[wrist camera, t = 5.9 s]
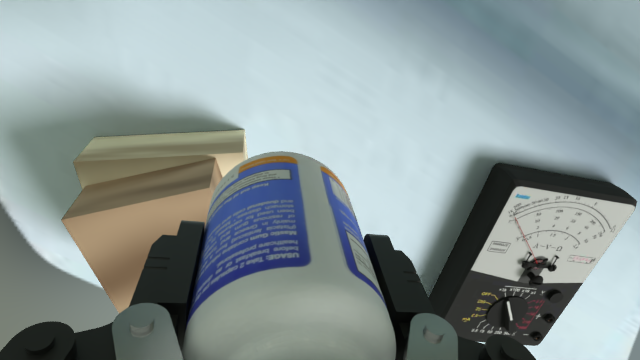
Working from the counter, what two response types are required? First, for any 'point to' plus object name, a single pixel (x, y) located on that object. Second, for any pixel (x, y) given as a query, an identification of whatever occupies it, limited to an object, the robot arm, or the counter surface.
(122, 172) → the beech block
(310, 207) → the pill bottle
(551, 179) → the multimeter
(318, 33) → the counter surface
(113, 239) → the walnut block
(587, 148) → the counter surface
